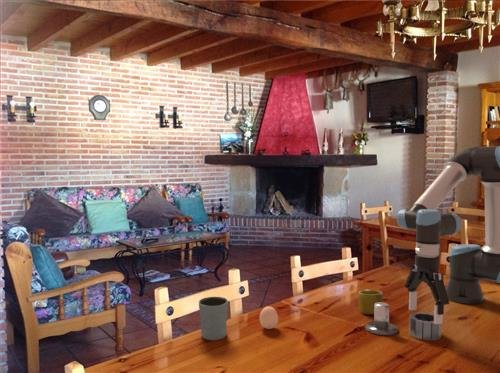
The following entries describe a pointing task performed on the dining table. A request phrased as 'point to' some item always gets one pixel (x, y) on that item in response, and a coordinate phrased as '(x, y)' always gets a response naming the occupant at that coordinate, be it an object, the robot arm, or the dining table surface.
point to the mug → (369, 300)
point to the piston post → (381, 321)
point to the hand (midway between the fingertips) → (424, 316)
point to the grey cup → (213, 317)
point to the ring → (424, 326)
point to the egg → (268, 318)
